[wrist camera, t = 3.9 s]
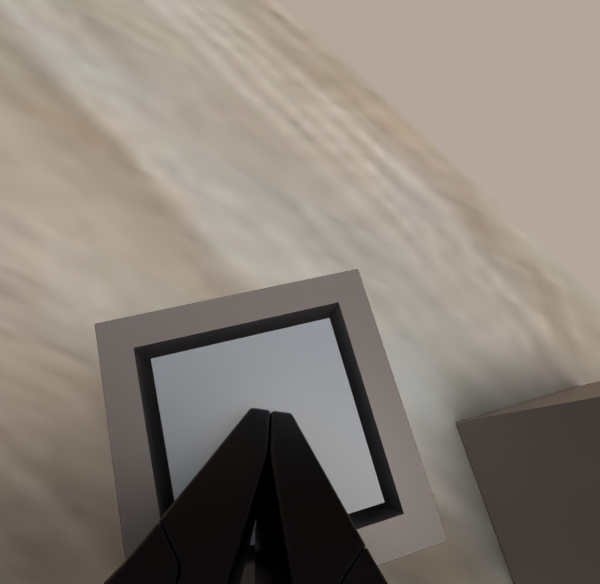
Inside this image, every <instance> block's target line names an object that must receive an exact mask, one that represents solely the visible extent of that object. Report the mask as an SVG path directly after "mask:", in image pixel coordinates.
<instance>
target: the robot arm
mask: <svg viewBox="0 0 600 584" xmlns="http://www.w3.org/2000/svg"><path fill="white" fill-rule="evenodd" d="M255 520H256V525H255ZM254 525H255V584H388V583H387V582H386V580H385V578H384V576H383V575H382V573H381V571H380V570H379V568H378V566H377V565H376V563H375V561H374V559H373V557H372V556H371V554H370V552H369V550H368V549H367V548H365V543H364V542H363V540H362V538H361V536H360V534H359V533H358V531H357V529H356V527H355V526H354V524H353V522H352V520H351V518H350V517H349V515H348V513H347V511H346V509H345V508H344V506H343V504H342V502H341V501H340V499H339V497H338V495H337V493H336V492H335V490H334V488H333V486H332V484H331V483H330V481H329V479H328V477H327V476H326V474H325V472H324V470H323V468H322V467H321V465H320V463H319V461H318V459H317V458H316V456H315V454H314V452H313V451H312V449H311V447H310V445H309V443H308V442H307V440H306V438H305V436H304V435H303V433H302V431H301V429H300V427H299V426H298V424H297V422H296V420H295V418H294V417H293V415H292V414H291V413H287V412H280V411H272V412H271V413H270V411H269V410H266V409H258V408H250V409H249V410H248V411H247V413H246V414H245V415H244V416H243V418H242V419H241V420H240V421H239V422H238V424H237V425H236V426H235V427H234V429H233V430H232V431H231V432H230V434H229V435H228V436H227V437H226V438H225V440H224V441H223V442H222V443H221V445H220V446H219V447H218V448H217V450H216V451H215V452H214V453H213V455H212V456H211V457H210V458H209V459H208V461H207V462H206V463H205V464H204V466H203V467H202V468H201V469H200V471H199V472H198V473H197V474H196V475H195V477H194V478H193V479H192V480H191V482H190V483H189V484H188V485H187V487H186V488H185V489H184V490H183V491H182V493H181V494H180V495H179V496H178V498H177V499H176V500H175V501H174V503H173V504H172V505H171V506H170V508H169V509H168V510H167V511H166V512H165V514H164V515H163V516H162V517H161V519H160V520H159V522H158V524H156V525H155V526H154V527H153V528H152V529H151V531H150V532H149V533H148V534H147V536H146V537H145V538H144V539H143V540H142V542H141V543H140V544H139V545H138V546H137V547H136V549H135V550H134V551H133V552H132V553H131V554H130V555H129V557H128V558H127V559H126V560H125V561H124V562H123V564H122V565H121V566H120V567H119V568H118V569H117V570H116V571H115V572H114V573H113V574H112V575H111V576H110V577H109V578H108V579H107V580H106V581H105V582H104V583H103V584H241V580H242V576H243V572H244V568H245V564H246V560H247V555H248V551H249V547H250V543H251V539H252V534H253V530H254Z"/></svg>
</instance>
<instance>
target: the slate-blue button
mask: <svg viewBox="0 0 600 584" xmlns="http://www.w3.org/2000/svg"><path fill="white" fill-rule="evenodd" d="M151 363H152V369H153V375H154V381H155V387H156V393H157V399H158V405H159V411H160V417H161V423H162V429H163V435H164V441H165V447H166V453H167V459H168V465H169V471H170V477H171V483H172V489H173V495H174V501H175V500H176V499H177V498H178V496H179V495H180V494H181V493H182V491H183V490H184V489H185V488H186V487H187V485H188V484H189V483H190V482H191V480H192V479H193V478H194V477H195V475H196V474H197V473H198V472H199V471H200V469H201V468H202V467H203V466H204V464H205V463H206V462H207V461H208V459H209V458H210V457H211V456H212V455H213V453H214V452H215V451H216V450H217V448H218V447H219V446H220V445H221V443H222V442H223V441H224V440H225V438H226V437H227V436H228V435H229V434H230V432H231V431H232V430H233V429H234V427H235V426H236V425H237V424H238V422H239V421H240V420H241V419H242V418H243V416H244V415H245V414H246V413H247V411H248V410H249V409H250V408H258V409H266V410H269V411H270V413H271V412H272V411H280V412H287V413H291V414H292V415H293V417H294V418H295V420H296V422H297V424H298V426H299V427H300V429H301V431H302V433H303V435H304V436H305V438H306V440H307V442H308V443H309V445H310V447H311V449H312V451H313V452H314V454H315V456H316V458H317V459H318V461H319V463H320V465H321V467H322V468H323V470H324V472H325V474H326V476H327V477H328V479H329V481H330V483H331V484H332V486H333V488H334V490H335V492H336V493H337V495H338V497H339V499H340V501H341V502H342V504H343V506H344V508H345V509H346V511H347V513H348V514H350V513H353V512H356V511H359V510H362V509H365V508H369V507H372V506H375V505H378V504H381V503H384V499H383V495H382V492H381V488H380V485H379V482H378V478H377V475H376V472H375V468H374V465H373V462H372V458H371V455H370V452H369V448H368V445H367V442H366V438H365V435H364V432H363V428H362V425H361V422H360V418H359V415H358V412H357V408H356V405H355V401H354V398H353V395H352V391H351V388H350V385H349V381H348V378H347V375H346V371H345V368H344V365H343V361H342V358H341V355H340V351H339V348H338V345H337V341H336V338H335V335H334V331H333V328H332V325H331V321H330V318H327V319H322V320H318V321H313V322H309V323H305V324H300V325H296V326H292V327H287V328H283V329H278V330H274V331H270V332H265V333H261V334H257V335H252V336H248V337H244V338H239V339H235V340H230V341H226V342H222V343H217V344H213V345H209V346H204V347H200V348H195V349H191V350H187V351H182V352H178V353H174V354H169V355H165V356H160V357H156V358H152V359H151ZM255 525H256V520H255ZM255 525H254V530H253V534H252V539H251V543H250V546H251V545H254V544H255Z"/></svg>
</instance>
